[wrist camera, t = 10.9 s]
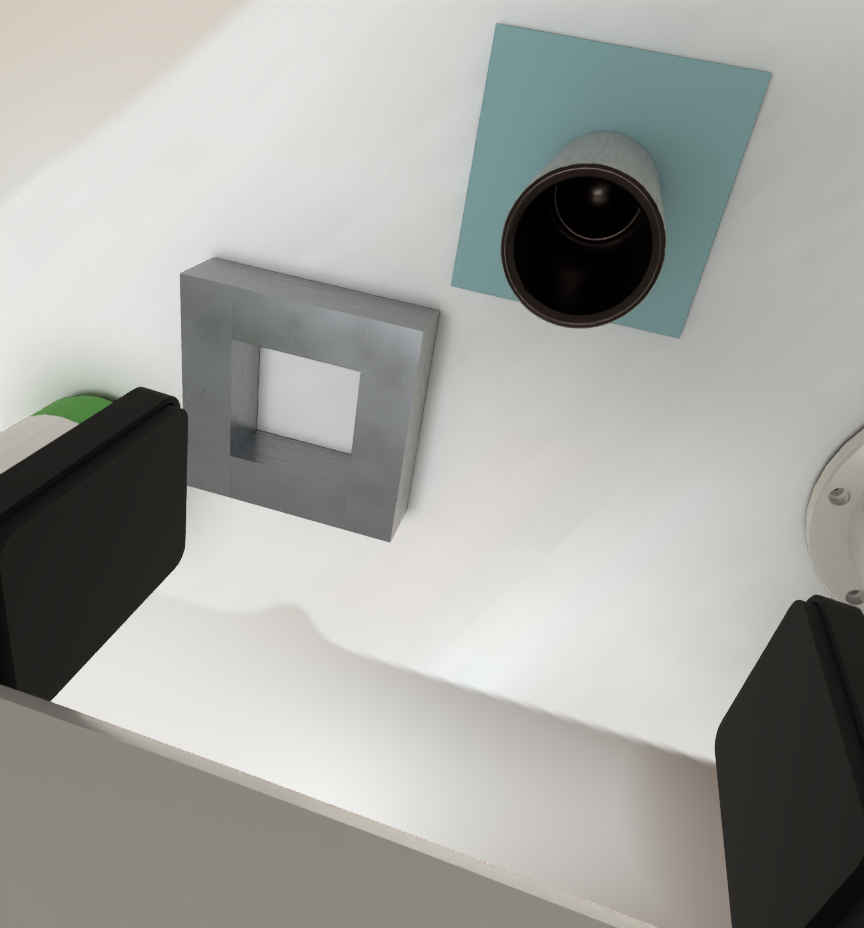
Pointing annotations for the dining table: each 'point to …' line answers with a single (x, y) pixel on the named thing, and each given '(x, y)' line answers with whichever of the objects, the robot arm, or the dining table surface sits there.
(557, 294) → the grey cylinder
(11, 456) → the wine bottle
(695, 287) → the mat
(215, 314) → the socket block
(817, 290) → the dining table surface
